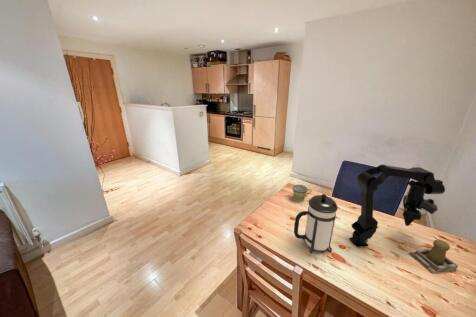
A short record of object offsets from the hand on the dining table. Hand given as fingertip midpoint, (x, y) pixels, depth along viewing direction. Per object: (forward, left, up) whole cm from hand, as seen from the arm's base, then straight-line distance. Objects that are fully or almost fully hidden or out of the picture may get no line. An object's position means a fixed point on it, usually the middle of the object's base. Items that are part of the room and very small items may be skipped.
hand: (406, 220), depth 100 cm
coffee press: (-46, +3, -13) cm, 48 cm away
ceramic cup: (-35, +45, -13) cm, 59 cm away
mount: (+3, -13, -13) cm, 19 cm away
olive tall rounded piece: (+4, -14, -12) cm, 19 cm away
